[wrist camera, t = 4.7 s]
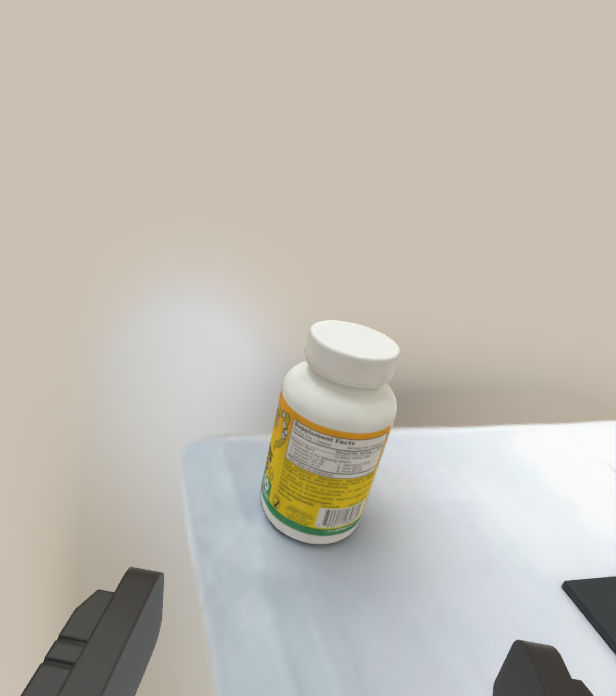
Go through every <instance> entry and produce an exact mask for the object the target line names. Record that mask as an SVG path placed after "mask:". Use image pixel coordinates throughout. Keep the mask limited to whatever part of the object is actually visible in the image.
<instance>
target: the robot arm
mask: <svg viewBox="0 0 616 696" xmlns="http://www.w3.org/2000/svg"><path fill="white" fill-rule="evenodd" d="M163 588H164V574H163V573H161V572H156V571H150V570H145V569H140V568H133V567H130V568H129V569H128V570H127V572H126V573H125V575H124V576H123V578H122V580H121V582H120V583H119V585H118V587H117V589H116V591H115V592H109V591H104V590H97V591H96V592H95V593H94V594H93V595H91V596H90V597H89V598H88V599H87V600H86V601H84V602H83V603H82V604H81V605H80V606H79V607H77V608H76V609H75V611H74V612H73V614H72V615H71V617H70V619H69V620H68V621H67V623H66V625H65V627H64V628H63V629H62V631H61V633H60V634H59V637H58V639H57V641H55V642H54V644H53V645H52V647H51V648H50V650H49V652H48V653H47V655H46V656H45V659H44V662H43V663H41V665H40V666H39V667H38V669H37V670H36V672H35V674H34V675H33V677H32V678H31V680H30V682H29V683H28V685H27V686H26V688H25V689H24V691H23V693H22V694H21V696H135V694H136V692H137V689H138V687H139V684H140V682H141V679H142V677H143V675H144V672H145V670H146V667H147V665H148V662H149V660H150V657H151V655H152V653H153V650H154V647H155V644H156V641H157V638H158V635H159V631H160V626H161V621H162V607H163ZM493 696H593V694H592V693H591V692H590V691H589V689H588V688H587V687H586V686H585V684H584V683H583V682H582V681H581V680H575V679H572V678H571V676H570V674H569V672H568V670H567V668H566V666H565V663H564V661H563V659H562V657H561V655H560V654H559V652H558V651H557V650H556V649H555V648H554V647H553V646H550V645H544V644H539V643H533V642H528V641H522V640H516V641H515V642H514V643H513V644H512V647H511V649H510V651H509V653H508V655H507V657H506V659H505V661H504V663H503V665H502V667H501V669H500V672H499V674H498V676H497V678H496V680H495V682H494V687H493Z"/></svg>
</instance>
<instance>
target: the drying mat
mask: <svg viewBox="0 0 616 696" xmlns="http://www.w3.org/2000/svg"><path fill="white" fill-rule="evenodd" d="M562 588H563V589H564V590H565V591H566V592H567V594H568V595H569V596H570V597H571V599H572V600H573V601H574V602H575V604H576V605H577V606H578V607H579V609H580V610H581V611H582V612H583V614H584V615H585V616H586V617H587V619H588V620H589V621H590V622H591V624H592V625H593V626H594V627H595V629H596V630H597V631H598V632H599V634H600V635H601V636H602V637H603V639H604V640H605V641H606V642H607V643H608V645H609V646H610V647H611V648H612V650H613V651H614V652H615V653H616V577H604V578H593V579H582V580H571V581H565V582H564V583H563V585H562Z"/></svg>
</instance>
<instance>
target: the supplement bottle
mask: <svg viewBox="0 0 616 696" xmlns="http://www.w3.org/2000/svg"><path fill="white" fill-rule="evenodd" d="M399 352H400V351H399V347H398V346H397V344H396V343H395V342H394V341H392V340H391V339H390V338H389V337H387V336H385V335H384V334H382V333H379V332H378V331H376V330H373V329H371V328H368V327H365V326H362V325H358V324H354V323H350V322H344V321H334V320H328V321H321V322H317V323H315V324H314V325H313V326H312V327H311V329H310V331H309V336H308V339H307V343H306V347H305V356H306V361H304V362H301V363H299V364H298V365H296V366H295V367H293V368H292V369H291V370H290V371H289V372H288V374H287V375H286V377H285V379H284V382H283V386H282V390H281V394H280V399H279V404H278V409H277V414H276V419H275V423H274V428H273V433H272V438H271V442H270V447H269V452H268V457H267V462H266V467H265V471H264V476H263V480H262V486H261V500H262V505H263V508H264V511H265V514H266V516H267V517H268V519H269V520H270V521H271V522H272V524H273V525H274V526H275V527H276V528H277V529H278V530H280V531H281V532H283V533H284V534H286V535H287V536H289V537H291V538H294V539H296V540H299V541H302V542H305V543H310V544H329V543H334V542H337V541H340V540H342V539H344V538H346V537H347V536H349V535H350V534H351V533H352V532H353V531H354V530H355V529H356V527H357V526H358V524H359V522H360V520H361V517H362V514H363V511H364V508H365V505H366V502H367V499H368V496H369V493H370V490H371V487H372V484H373V481H374V478H375V475H376V472H377V469H378V466H379V463H380V460H381V457H382V454H383V451H384V448H385V446H386V443H387V440H388V437H389V434H390V431H391V428H392V425H393V422H394V419H395V416H396V412H397V403H396V398H395V396H394V393H393V391H392V389H391V388H390V387H389V385H388V384H387V383H388V382H389V381H390V379H391V378H392V377H393V375H394V372H395V367H396V364H397V360H398V357H399Z"/></svg>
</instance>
